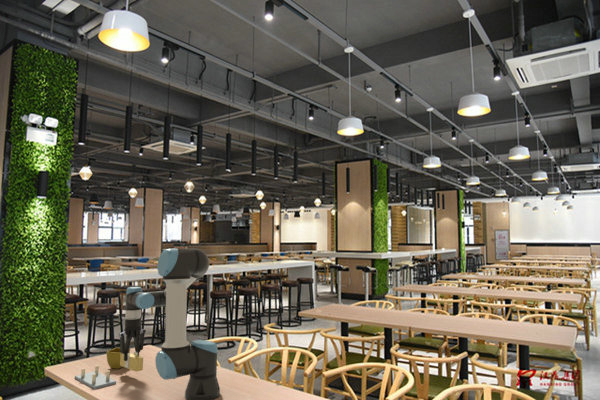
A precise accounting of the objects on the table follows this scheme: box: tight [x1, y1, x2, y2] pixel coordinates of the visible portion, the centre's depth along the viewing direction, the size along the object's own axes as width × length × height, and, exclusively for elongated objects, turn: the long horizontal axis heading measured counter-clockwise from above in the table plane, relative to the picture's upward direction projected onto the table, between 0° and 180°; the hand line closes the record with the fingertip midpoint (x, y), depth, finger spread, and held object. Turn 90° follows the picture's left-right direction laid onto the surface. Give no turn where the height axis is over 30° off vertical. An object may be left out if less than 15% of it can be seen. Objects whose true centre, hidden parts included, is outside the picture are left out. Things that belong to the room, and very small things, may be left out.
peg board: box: [74, 365, 117, 390], centre depth 199 cm, size 22×10×5 cm, turn 50°
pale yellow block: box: [120, 348, 144, 373], centre depth 206 cm, size 16×4×8 cm, turn 50°
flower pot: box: [106, 347, 124, 370], centre depth 221 cm, size 9×9×9 cm
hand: (131, 366), depth 206 cm, fingers closed on pale yellow block, 3 cm apart
